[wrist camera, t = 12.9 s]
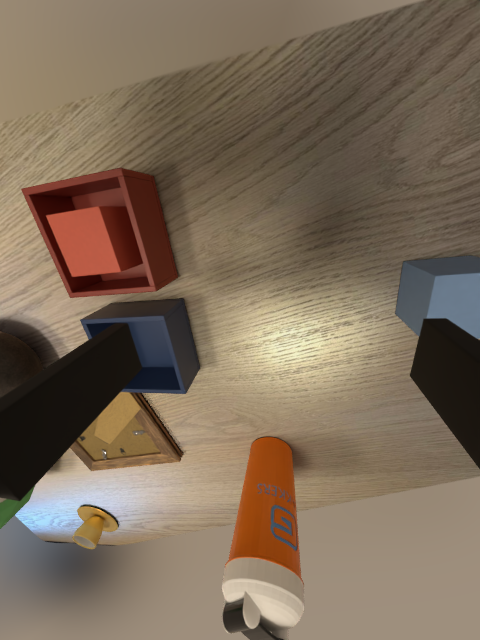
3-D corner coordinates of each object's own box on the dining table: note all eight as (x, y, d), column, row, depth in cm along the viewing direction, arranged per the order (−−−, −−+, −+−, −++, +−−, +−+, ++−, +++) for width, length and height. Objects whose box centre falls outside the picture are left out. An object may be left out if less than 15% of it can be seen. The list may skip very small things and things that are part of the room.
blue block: (403, 261, 24) (435, 275, 19) (471, 255, 23) (527, 269, 18) (395, 313, 27) (421, 340, 21) (456, 311, 25) (501, 338, 20)
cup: (102, 504, 61) (86, 529, 56) (126, 530, 65) (113, 555, 60) (70, 504, 64) (53, 528, 59) (95, 529, 68) (80, 553, 64)
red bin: (68, 192, 28) (20, 188, 23) (153, 175, 25) (120, 167, 20) (103, 284, 32) (69, 298, 27) (178, 277, 30) (156, 291, 25)
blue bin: (110, 303, 33) (79, 319, 28) (183, 298, 31) (163, 315, 26) (135, 367, 38) (112, 392, 33) (200, 368, 35) (186, 394, 30)
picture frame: (132, 379, 39) (41, 403, 46) (125, 386, 37) (32, 409, 45) (183, 454, 45) (96, 464, 53) (179, 463, 44) (90, 472, 51)
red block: (92, 214, 28) (45, 215, 22) (136, 206, 26) (98, 205, 21) (110, 265, 30) (71, 277, 25) (151, 260, 29) (121, 272, 23)
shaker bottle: (280, 474, 43) (276, 664, 25) (237, 453, 42) (201, 630, 24) (308, 448, 38) (327, 654, 21) (260, 424, 38) (237, 612, 20)
